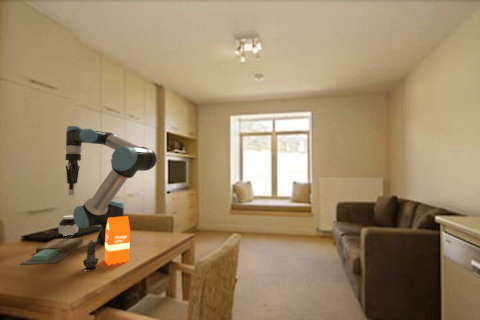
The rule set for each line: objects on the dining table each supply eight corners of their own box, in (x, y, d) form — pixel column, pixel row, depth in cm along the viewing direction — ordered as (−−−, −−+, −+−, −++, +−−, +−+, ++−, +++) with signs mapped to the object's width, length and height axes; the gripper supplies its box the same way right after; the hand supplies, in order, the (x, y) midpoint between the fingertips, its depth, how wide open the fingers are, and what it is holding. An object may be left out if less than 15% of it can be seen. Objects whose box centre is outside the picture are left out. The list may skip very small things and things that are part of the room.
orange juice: (104, 260, 125) (105, 216, 125) (124, 257, 130) (126, 214, 131) (108, 265, 118) (109, 219, 119) (129, 261, 124) (130, 217, 124)
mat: (70, 253, 134) (70, 252, 134) (56, 263, 120) (56, 262, 120) (38, 254, 131) (38, 253, 131) (20, 264, 117) (20, 263, 117)
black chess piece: (87, 272, 110) (88, 242, 110) (79, 269, 113) (80, 240, 113) (101, 268, 115) (102, 239, 115) (93, 265, 118) (94, 237, 118)
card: (58, 253, 132) (58, 249, 132) (47, 260, 123) (47, 255, 123) (44, 253, 131) (44, 249, 131) (32, 260, 122) (32, 256, 122)
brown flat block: (82, 243, 151) (82, 238, 151) (67, 253, 133) (68, 247, 134) (54, 244, 149) (54, 238, 149) (36, 254, 131) (36, 248, 131)
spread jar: (71, 232, 176) (72, 214, 176) (84, 234, 171) (84, 216, 172) (52, 236, 165) (53, 217, 165) (65, 239, 160) (66, 219, 161)
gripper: (71, 153, 161) (69, 194, 160) (60, 152, 148) (58, 196, 148) (85, 154, 163) (83, 194, 162) (75, 153, 150) (74, 196, 149)
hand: (71, 195), depth 155 cm, fingers closed
